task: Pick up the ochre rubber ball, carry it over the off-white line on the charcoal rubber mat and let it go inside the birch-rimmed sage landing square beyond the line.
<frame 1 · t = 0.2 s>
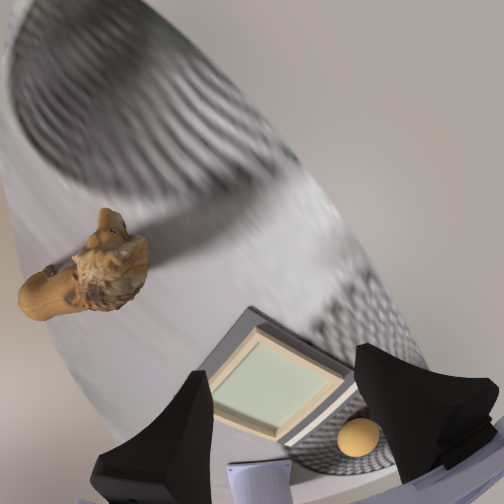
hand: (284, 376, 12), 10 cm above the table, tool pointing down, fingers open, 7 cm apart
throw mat: (266, 389, 24), on the table
lion figurine: (99, 261, 20), on the table
ball: (358, 437, 24), point 2 cm above the table
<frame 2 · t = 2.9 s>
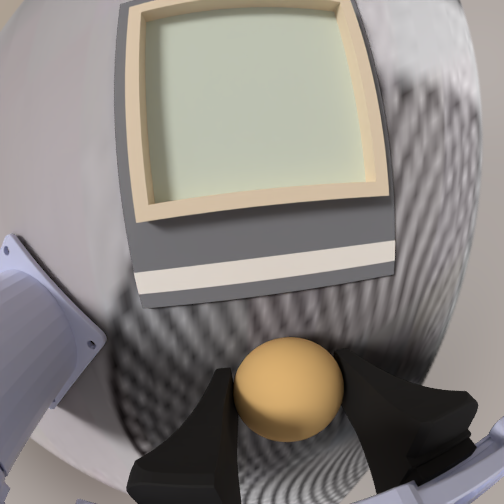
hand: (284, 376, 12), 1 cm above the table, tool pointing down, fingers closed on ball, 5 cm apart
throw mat: (252, 87, 10), on the table
ball: (288, 390, 11), point 2 cm above the table, touching gripper
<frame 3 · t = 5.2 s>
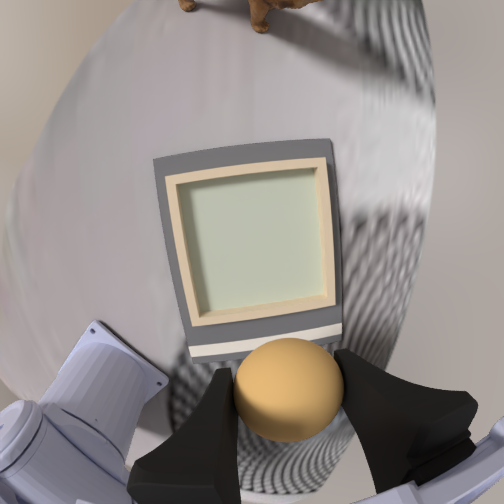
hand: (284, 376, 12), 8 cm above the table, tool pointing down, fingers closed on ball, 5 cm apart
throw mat: (254, 241, 19), on the table
lion figurine: (234, 2, 15), on the table
ball: (288, 390, 11), point 9 cm above the table, touching gripper
when the fingers open (3 cm above the table, at t = 7.5 s): ball drops 1 cm, resting on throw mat.
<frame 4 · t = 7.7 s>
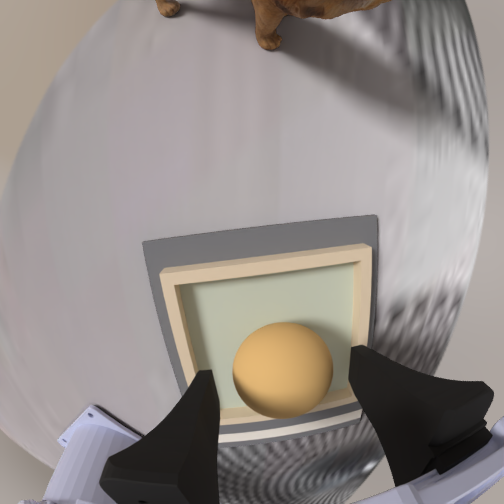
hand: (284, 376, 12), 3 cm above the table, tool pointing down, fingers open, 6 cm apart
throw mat: (274, 342, 15), on the table
lion figurine: (233, 4, 11), on the table
ball: (283, 370, 12), point 3 cm above the table, touching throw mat
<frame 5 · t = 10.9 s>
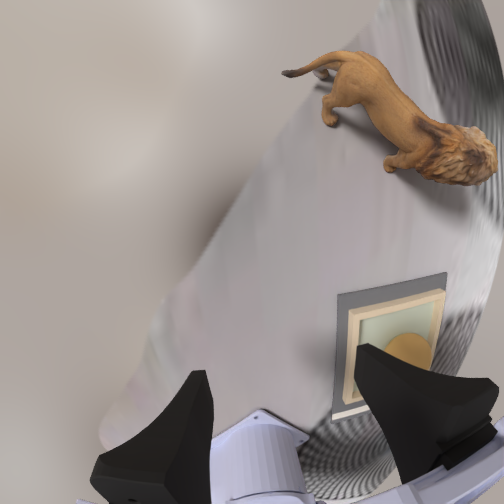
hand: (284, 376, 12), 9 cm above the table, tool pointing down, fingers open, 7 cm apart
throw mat: (392, 345, 23), on the table
lion figurine: (369, 124, 19), on the table
ball: (406, 359, 21), point 3 cm above the table, touching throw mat
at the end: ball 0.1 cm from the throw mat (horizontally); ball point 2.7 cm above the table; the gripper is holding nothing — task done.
